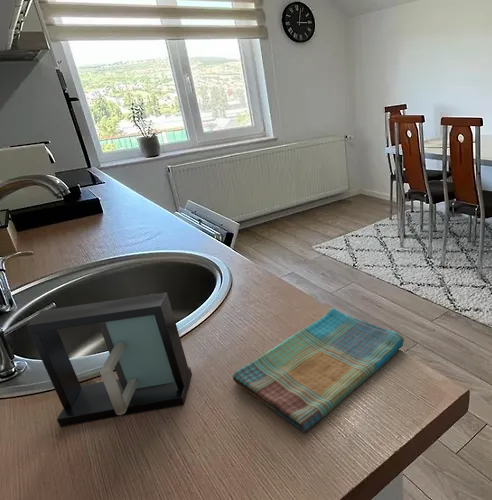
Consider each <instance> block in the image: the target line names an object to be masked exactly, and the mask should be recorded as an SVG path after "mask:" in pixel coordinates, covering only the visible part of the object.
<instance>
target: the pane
mask: <svg viewBox="0 0 492 500" xmlns="http://www.w3.org/2000/svg"><path fill="white" fill-rule="evenodd" d="M98 327H99V329H100V332H101V334H102V335H101V336H102V337H103V340H104V343H105V346H106V349H107V351H108V356H107V358H106V360H105V362H104V363H103V365H102V367H101V368H100V370H99V375H100V377H101V379H102V382H104V384H105V387H106V390H107V392H108V395H109V397H110V400H111V402H112V405H113V408H114V410H115V413H116V414H117V415H123V414H124V413H125V412H126V410H127V407H128V405H129V403H130V400H131V398H132V396H133V393H134V391H135V389H137V388H143V387H149V386H155V385H161V384H166V383H172V382H175V378H174V374H173V371H172V368H171V365H170V361H169V358H168V355H167V351H166V348H165V345H164V342H163V338H162V335H161V332H160V328H159V325H158V322H157V318H156V315H155V314H154V315H148V316H141V317H135V318H128V319H121V320H115V321H108V322H101V323H98ZM114 370H115V372H114ZM115 373H116V375H117V378H116V375H115ZM116 379H119V381H120V383H121V386H122V389H123V391H124V392H123V394H121V391H120V388H119V386H118V383H117V380H116Z"/></svg>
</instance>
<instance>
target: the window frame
mask: <svg viewBox="0 0 492 500" xmlns="http://www.w3.org/2000/svg"><path fill="white" fill-rule="evenodd" d="M168 294H169V293H168V292H161V293H153V294H147V295H140V296H133V297H126V298H121V299H120V298H118V299H113V300H106V301H98V302H92V303H85V304H77V305H71V306H63V307H57V308H50V309H42V310H40V311H39V312H38V313H37V314H36V315H35V316H34V317H33V318H32V319H31V320H30V321H29V323H27V325H26V326H25V327H26V329H27V331H28V333H29V336H30V338H31V339H32V342H33V344H34V346H35V349H36V351H37V353H38V355H39V357H40V359H41V362H42V364H43V366H44V368H45V372H46V373H47V375H48V378H49V379H50V382H51V384H52V386H53V388H54V390H55V393H56V395H57V397H58V399H59V401H60V403H61V407H62V408H63V409H62V410H61V412H60V413H59V415H58V417H57V418H56V421H57V423H58V425H59V427H60V428H63V427H64V428H65V427H70V426H74V425H79V424H86V423H90V422H96V421H102V420H107V419H113V418H118V417H124V416H125V417H126V416H130V415H135V414H136V415H137V414H140V413H146V412H152V411H157V410H162V409H168V408H174V407H180V406H184V405H185V404H186V403H185V402H186V400H187V399H186V398H187V395H188V391H189V388H190V383H191V380H192V376H193V371H192V369H191V367H190V366H189V365H188V362H187V358H186V354H185V351H184V347H183V344H182V340H181V337H180V333H179V330H178V327H177V323H176V319H175V316H174V312H173V309H172V305H171V301H170V298H169V295H168ZM154 314H155V315H156V318H157V322H158V325H159V328H160V332H161V335H162V338H163V342H164V345H165V348H166V351H167V355H168V358H169V361H170V365H171V368H172V371H173V374H174V378H175V382H172V383H166V384H161V385H155V386H149V387H143V388H137V389H135V391H134V393H133V396H132V398H131V400H130V403H129V405H128V407H127V410H126V412H125V413H124V414H123V415H117V414H116V413H115V410H114V408H113V405H112V402H111V400H110V397H109V395H108V392H107V390H106V387H105V384H104V382H103V381H98V382H94V383H87V384H81V383H80V381H79V379H78V376H77V374H76V371H75V369H74V367H73V364H72V362H71V360H70V359H71V358H70V357H69V355H68V352H67V350H66V347H65V345H64V343H63V340H62V338H61V336H60V333H59V331H58V330H62V329H67V328H75V327H80V326H81V327H82V326H87V325H95V324H99V323H101V322H108V321H115V320H121V319H128V318H135V317H141V316H148V315H154ZM116 380H117V383H118V386H119V388H120V391H121V394H123V392H124V391H123V389H122V386H121V383H120V381H119V378H116Z"/></svg>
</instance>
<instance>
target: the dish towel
mask: <svg viewBox="0 0 492 500" xmlns="http://www.w3.org/2000/svg"><path fill="white" fill-rule="evenodd" d="M404 342H405V338H404V336H402V335H401V334H400V333H398V332H396V331H393V330H390V329H387V328H384V327H380V326H377V325H374V324H372V323H369V322H366V321H364V320H361V319H358V318H354V317H352V316H351V315H348V314H345V313H343V312H341V311H340V310H337V309H336V308H335V307H333V308H329V309H328V311H327V312H326V313H325V314H324V315H323V316H322V317H320V318H319V319H317V320H315V321H313V322H312V323H311V324H308V325H307V326H305V327H304V328H302V329H300V330H298V331H297V332H295V333H293V334H292V335H291V336H290V337H288V338H286V339H285V340H283V341H282V342H280V343H279V344H277V345H276V346H275V347H272V349H269V351H266V353H264V354H262V355H261V356H259V357H257V358H256V359H254V360H253V361H251V362H250V363H248V364H246V365H245V366H243V367H241V368H240V369H238V370H237V371H236V372H234V373H233V374H232V376H233V377H232V380H233V381H234V383H235V384H237V385H238V386H240V387H241V388H242V389H244V390H245V392H248V393H249V394H250V395H252V396H254V397H255V398H257V399H258V400H259V401H260V402H261V403H263V404H264V405H266V407H268V408H270V409H271V410H272V411H274V412H275V413H276V414H278V415H279V416H281V418H283V419H284V420H285V421H288V423H290V424H291V425H293V426H294V427H295V428H297V429H299V431H301V432H302V433H306V432H308V431H309V430H310V429H311V428H312V427H314V426H315V425H316V424H317V423H319V422H320V421H321V420H322V419H324V417H326V416H327V415H328V414H329V413H330V412H332V410H333V409H335V407H336V406H338V405H339V404H340V403H341V402H342V401H343V400H344V399H345V398H346V397H348V396H349V395H350V394H351V393H352V392H354V390H356V389H357V388H358V387H359V386H360V385H361V384H362V383H364V382H365V381H366V380H368V379H369V378H370V377H371V376H372V375H373V374H374V373H375V372H377V371H378V370H380V368H382V367H383V366H384V365H385V364H386V363H387V362H388V361H389V360H390V359H391V358H392V357H393V356H394V355H395V354H396V352H398V351H399V350H400V349H401V348H402V347H403V346H404Z"/></svg>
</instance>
